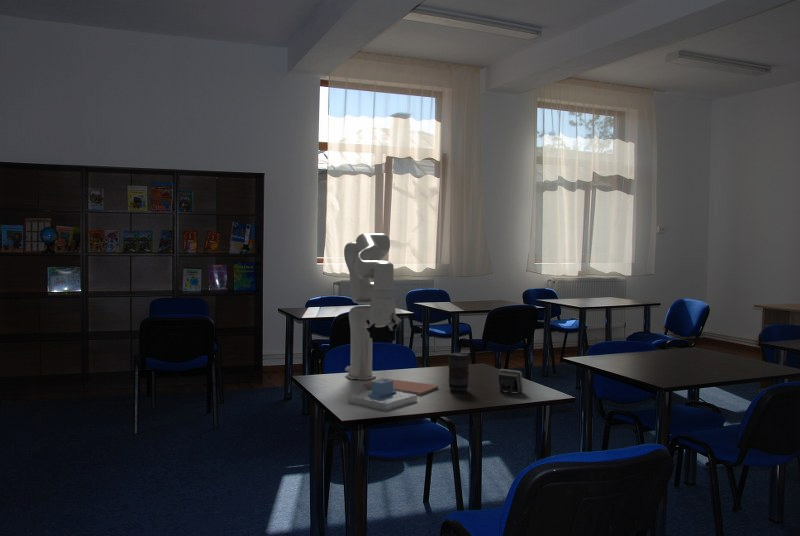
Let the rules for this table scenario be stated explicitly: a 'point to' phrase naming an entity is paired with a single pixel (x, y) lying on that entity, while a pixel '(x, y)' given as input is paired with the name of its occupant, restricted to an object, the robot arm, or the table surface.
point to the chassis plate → (382, 400)
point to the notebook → (408, 387)
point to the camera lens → (458, 372)
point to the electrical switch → (510, 380)
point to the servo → (382, 388)
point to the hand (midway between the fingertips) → (382, 339)
